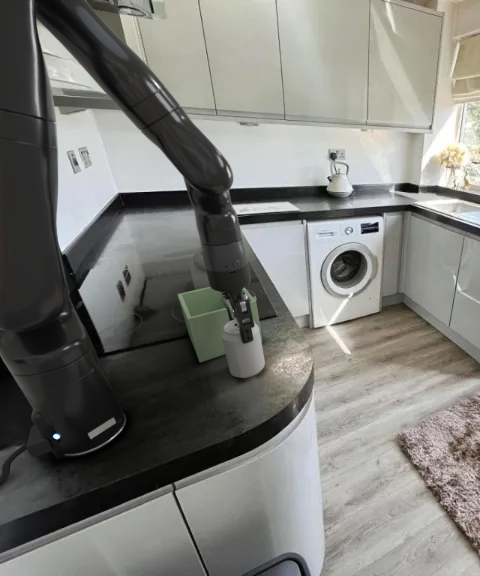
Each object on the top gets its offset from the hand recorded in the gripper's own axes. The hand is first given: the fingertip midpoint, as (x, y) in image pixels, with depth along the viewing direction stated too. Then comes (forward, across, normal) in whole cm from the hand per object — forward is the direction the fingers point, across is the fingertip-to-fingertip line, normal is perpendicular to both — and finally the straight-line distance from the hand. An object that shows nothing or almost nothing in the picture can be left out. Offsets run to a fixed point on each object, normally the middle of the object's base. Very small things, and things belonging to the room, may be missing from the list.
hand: (241, 332), depth 69 cm
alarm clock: (+10, -38, +3) cm, 39 cm away
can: (+10, 0, 0) cm, 10 cm away
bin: (+10, -16, -1) cm, 19 cm away
